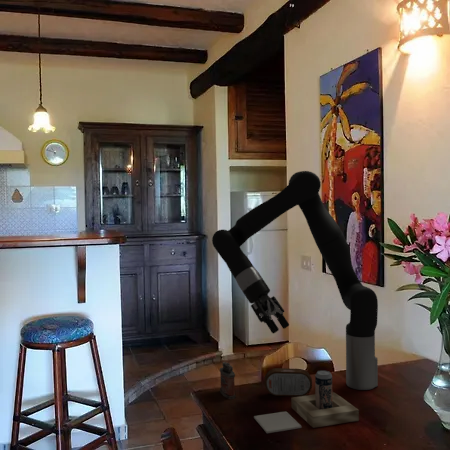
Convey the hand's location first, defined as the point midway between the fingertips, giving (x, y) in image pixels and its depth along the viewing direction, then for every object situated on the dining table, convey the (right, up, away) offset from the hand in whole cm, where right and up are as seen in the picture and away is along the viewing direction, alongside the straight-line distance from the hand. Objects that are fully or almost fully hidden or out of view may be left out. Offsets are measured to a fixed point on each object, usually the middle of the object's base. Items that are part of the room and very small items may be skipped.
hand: (281, 329), depth 147 cm
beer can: (+11, -23, -7) cm, 27 cm away
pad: (-3, -23, -12) cm, 26 cm away
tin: (+3, -23, +7) cm, 24 cm away
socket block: (+11, -23, -7) cm, 26 cm away
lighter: (-16, -23, +9) cm, 29 cm away
